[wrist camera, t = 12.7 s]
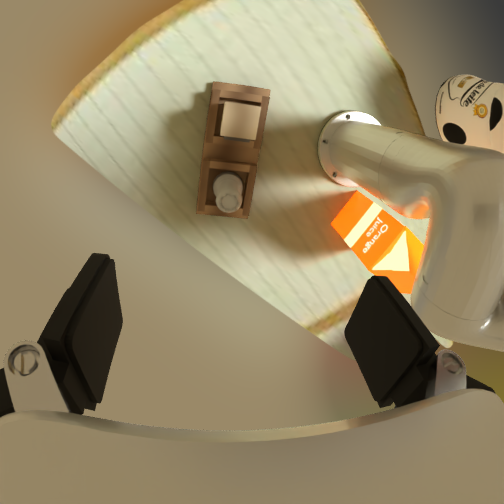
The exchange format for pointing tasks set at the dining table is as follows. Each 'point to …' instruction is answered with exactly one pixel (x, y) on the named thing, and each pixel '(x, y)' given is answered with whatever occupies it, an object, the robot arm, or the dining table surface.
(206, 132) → the wooden compartment tray
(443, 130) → the milk container
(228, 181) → the rook chess piece
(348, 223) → the orange juice
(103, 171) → the dining table surface
